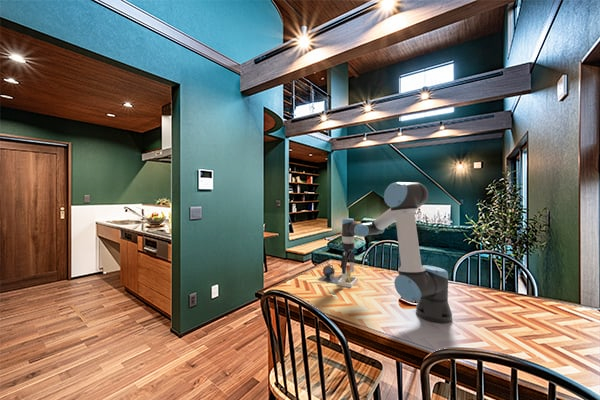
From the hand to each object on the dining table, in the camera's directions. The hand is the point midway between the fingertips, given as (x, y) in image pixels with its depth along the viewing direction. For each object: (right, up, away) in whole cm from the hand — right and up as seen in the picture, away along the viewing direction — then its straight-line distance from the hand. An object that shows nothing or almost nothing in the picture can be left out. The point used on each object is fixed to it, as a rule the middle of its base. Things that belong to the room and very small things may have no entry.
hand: (348, 275), depth 155 cm
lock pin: (0, -5, 0) cm, 5 cm away
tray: (0, -6, 0) cm, 6 cm away
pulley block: (-10, -6, +7) cm, 13 cm away
